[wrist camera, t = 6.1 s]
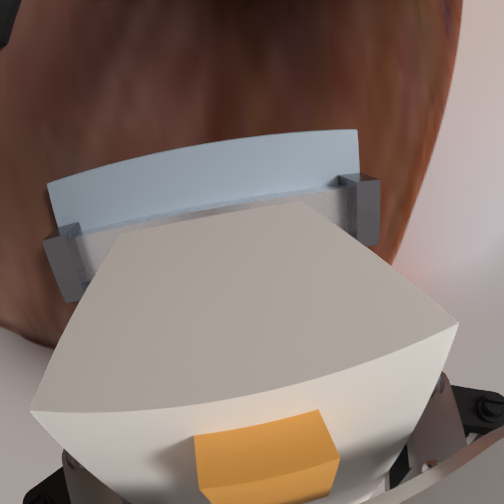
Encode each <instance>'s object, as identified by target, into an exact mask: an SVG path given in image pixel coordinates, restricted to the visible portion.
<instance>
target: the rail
mask: <svg viewBox="0 0 504 504" xmlns="http://www.w3.org/2000/svg"><path fill="white" fill-rule="evenodd" d="M298 201H302V202H304V203H305V204H307V205H308V206H310V207H311V208H313V209H314V210H315V211H317V212H318V213H320V214H321V215H323V216H324V217H325V218H327V219H328V220H330V221H331V222H333V223H334V224H335V225H337V226H338V227H340V228H341V229H342V230H344V231H345V232H346V233H348V234H349V235H351V236H352V237H353V238H355V239H356V240H357V241H359V242H360V243H361V244H363V245H364V246H365V247H367V246H372V245H377V244H379V230H380V179H377V178H374V177H371V176H368V175H365V174H362V173H353V174H343V175H338V185H329V186H321V187H314V188H306V189H299V190H291V191H284V192H278V193H271V194H264V195H258V196H252V197H246V198H239V199H233V200H228V201H222V202H216V203H211V204H205V205H200V206H194V207H189V208H184V209H179V210H173V211H168V212H163V213H159V214H154V215H149V216H144V217H140V218H135V219H130V220H126V221H121V222H117V223H113V224H108V225H104V226H100V227H95V228H91V229H87V230H83V231H81V227H80V224H79V222H76V223H72V224H68V225H64V226H61V227H58V228H56V229H55V230H54V231H53V232H52V233H50V234H49V235H48V236H47V237H46V238H45V239H43V240H42V243H43V246H44V249H45V252H46V255H47V258H48V261H49V263H50V266H51V269H52V271H53V274H54V277H55V279H56V282H57V284H58V287H59V289H60V291H61V294H62V296H63V298H64V301H65V303H70V302H76V301H80V300H81V298H82V296H83V295H84V293H85V291H86V289H87V288H88V286H89V284H90V283H91V281H92V279H93V277H94V276H95V274H96V272H97V271H98V269H99V267H100V266H101V264H102V263H103V261H104V259H105V258H106V256H107V255H108V253H109V251H110V250H111V248H112V247H113V245H114V244H115V242H116V241H117V239H118V238H119V236H120V235H121V234H123V233H128V232H132V231H137V230H142V229H147V228H152V227H156V226H161V225H166V224H171V223H176V222H182V221H187V220H192V219H197V218H203V217H208V216H214V215H219V214H225V213H230V212H236V211H242V210H248V209H254V208H260V207H266V206H272V205H278V204H285V203H291V202H298Z"/></svg>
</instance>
